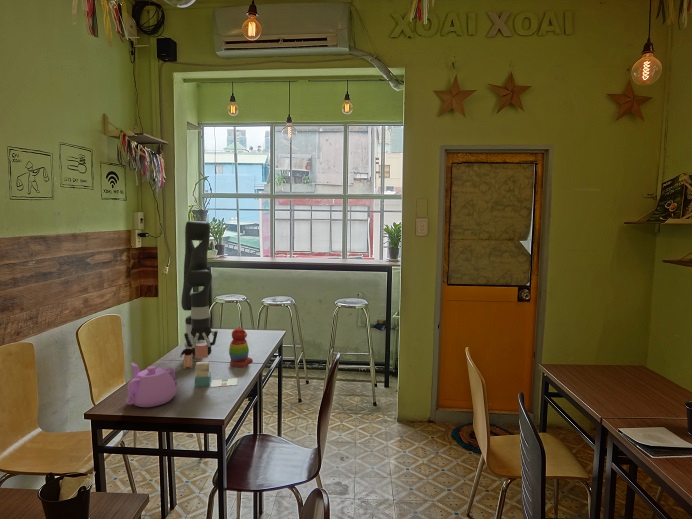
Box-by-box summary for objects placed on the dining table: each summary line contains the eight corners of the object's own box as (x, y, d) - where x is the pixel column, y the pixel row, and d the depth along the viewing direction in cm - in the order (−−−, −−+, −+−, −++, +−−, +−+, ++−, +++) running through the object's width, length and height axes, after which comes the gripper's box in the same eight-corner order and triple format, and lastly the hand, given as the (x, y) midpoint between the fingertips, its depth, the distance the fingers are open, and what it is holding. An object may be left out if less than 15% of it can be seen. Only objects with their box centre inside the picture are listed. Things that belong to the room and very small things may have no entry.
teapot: (156, 385, 191) (154, 354, 190) (190, 395, 180) (189, 362, 178) (106, 404, 172) (104, 369, 171) (141, 416, 161) (139, 379, 160)
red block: (196, 354, 193) (196, 343, 193) (208, 354, 194) (208, 342, 194) (195, 358, 188) (194, 346, 188) (207, 357, 189) (207, 346, 189)
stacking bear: (244, 367, 213) (243, 331, 211) (225, 366, 215) (224, 330, 213) (254, 360, 223) (253, 326, 222) (235, 359, 225) (234, 325, 224)
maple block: (197, 373, 194) (197, 362, 194) (209, 372, 195) (208, 361, 195) (195, 377, 189) (195, 365, 189) (208, 376, 190) (207, 365, 190)
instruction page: (212, 380, 196) (212, 380, 196) (237, 378, 198) (237, 378, 198) (210, 387, 188) (210, 386, 188) (237, 385, 191) (237, 384, 191)
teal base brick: (196, 381, 195) (196, 373, 194) (210, 380, 196) (210, 371, 196) (195, 386, 189) (194, 377, 189) (209, 385, 190) (209, 376, 190)
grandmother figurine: (181, 369, 211) (179, 343, 209) (179, 367, 214) (178, 341, 213) (197, 367, 214) (196, 341, 213) (196, 364, 217) (195, 339, 216)
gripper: (218, 313, 195) (219, 351, 196) (184, 315, 192) (185, 353, 193) (217, 317, 188) (218, 356, 189) (181, 319, 185) (183, 359, 186)
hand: (202, 355), depth 191 cm, fingers closed on red block, 5 cm apart
